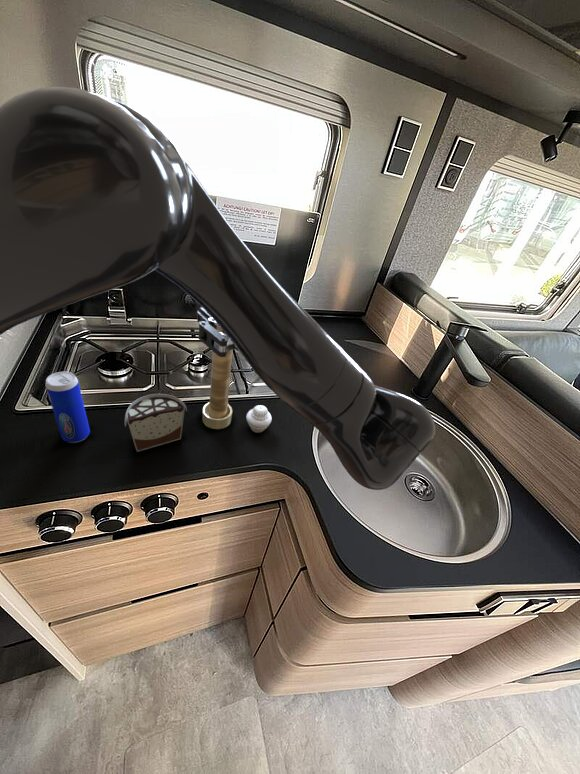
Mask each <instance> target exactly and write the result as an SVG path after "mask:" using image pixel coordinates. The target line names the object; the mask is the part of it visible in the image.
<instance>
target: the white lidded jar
mask: <svg viewBox="0 0 580 774" xmlns="http://www.w3.org/2000/svg"><path fill="white" fill-rule="evenodd" d="M245 417H246V422H247V424H248V426H249V428H250V430H251V431H252V432H254V433H258V434H259V433H262V432H264V431H265V430H266V429H267V428H268V427H269V426H270V424H271V423H272V420H273V419H272V418H273V417H272V415H271V413H270V412H269V411H268V408H267V406H265V405H262V404H260V405H259V404H257V405H255V406H254V407H253V408H251V409H249V410H248V412H247V413H246V416H245Z"/></svg>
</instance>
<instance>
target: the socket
mask: <svg viewBox="0 0 580 774" xmlns="http://www.w3.org/2000/svg"><path fill="white" fill-rule="evenodd" d="M209 406H210V401H209V402H207V403H205V404H204V405H203V407H202V409H201V411H202V413H201V414H202V415H201V417H202V418H201V419H202V423H203V425H204V426H205V427H206V428H209V429H213V430H221V429H225V428H227V427H228V426H230V425H231V422H232V419H233V408H232V406H231V405H230V404H229V403H228V406H227V416H226V417H225V418H222V419H215V418H211V417H209Z"/></svg>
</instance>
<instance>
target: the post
mask: <svg viewBox="0 0 580 774" xmlns="http://www.w3.org/2000/svg"><path fill="white" fill-rule="evenodd" d="M217 331H219V332H223V330H222V329H221V327H220V326H217ZM233 351H234V349H233V350H229V351H227V355H226V357H219V356H218V355H217V354H216V353H214V352H213V351H212V350H211V353H212V354H211V371H210V387H209V389H210V390H209V402H210V406H209V417H211V418H215V419H222V418H225V417H226V416H227V406H228V404H229V394H230V384H231V373H232V364H233V355H234V353H233Z"/></svg>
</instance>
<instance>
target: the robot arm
mask: <svg viewBox="0 0 580 774" xmlns="http://www.w3.org/2000/svg"><path fill="white" fill-rule="evenodd" d="M155 271H156V272H157V273H159V274H160V275H161V276H163V277H164V278H166V279H168V280H169V281H170V282H172V283H173V284H174V285H176V286H177V287H178V288H180V289H181V290H182V291H183V292H185V294H187V295H188V296H189V297H190V298H191V299H193V301H195V303H197V304H198V305H199V306H200V307H199V308H198V310H197V313H196V321H197V323H198V340H199V341H200V342H201V343H202V344H204V345H205V346H206V347H207V348H208V349H209V350H210V351H211V352H212V351H213V352H214V353H216V354H217V355H218V356H219V357H226V355H227V351H229V350H233V351H234V350H235V351H237V352H239V353H240V355H241V356H242V357H243V358H244V360H245V361H246V363H247V364H248V365H249V366H250V368H251V370H253V372H254V373H255V374H256V375H257V376H258V378H259V379H260V380H261V381H262V382H263V383H264V384H265V386H266V387H267V388H268V389H270V390H271V391H272V393H274V394H275V396H277V397H278V398H279V399H280V400H281V401H283V402H284V403H285V404H286V405H287V406H289V407H290V408H291V409H292V410H294V411H295V412H296V413H298V414H299V415H300V416H301V417H302V418H304V420H306V421H307V422H309V423H310V424H311V425H312V426H313V427H314V428H316V429H317V431H318V432H320V433H321V435H322V436H323V437H324V438H325V439H326V441H327V442H328V443H329V445H330V446H331V448H332V450H333V451H334V453H335V455H336V456H337V458H338V461H340V463H341V465H342V466H343V468H344V469H345V471H346V472H347V474H348V475H349V476H350V477H351V479H353V480H354V482H356V483H357V484H359V485H360V486H361V487H363V488H366V489H368V490H373V491H381V490H385V489H388V488H391V487H392V486H393V485H394V484H395V483H396V482H397V481H398V480H399V479H400V478H401V477H402V476H403V474H404V473H405V472H406V471H407V470H408V469H409V467H410V466H411V465H412V464H413V463H414V462H415V461H416V459H417V458H418V457H419V456H420V455H421V454H422V452H424V451H425V449H426V448H427V447H428V445H430V443H431V442H432V441H433V439H434V437H435V436H436V432H437V431H436V429H437V428H436V423H435V420H434V418H433V416H432V414H431V413H430V412H429V410H428V409H427V408H426V407H425V406H424V405H423V404H422V403H420V402H419V401H417V400H416V399H414V398H412V397H411V396H407V395H405V394H402V393H400V392H397V391H394V390H391V389H387V388H385V387H382V386H378V385H375V384H374V381H373V380H372V379H371V377H370V376H369V375H368V374H367V372H365V370H364V369H363V368H362V367H361V366H360V365H359V364H358V363H357V362H356V361H355V360H354V359H353V357H351V356H350V355H349V354H348V353H347V351H345V349H344V348H343V347H342V346H341V345H340V344H339V343H338V342H337V341H335V340H334V339H335V338H333V337H332V336H331V335H330V334H329V333H328V332H327V331H326V330H325V329H324V328H323V327H322V326H321V325H320V324H319V323H318V322H317V321H316V320H315V319H314V318H313V317H312V316H311V315H310V314H309V313H308V312H307V311H306V310H305V309H304V308H303V307H302V306H301V305H300V304H299V303H298V302H297V301H296V300H295V299H294V298H293V297H292V295H291V294H290V293H289V292H288V291H287V290H286V289H285V288H284V287H283V286H282V285H281V284H280V283H279V282H278V281H277V280H276V278H275V277H273V275H272V274H271V273H270V272H269V271H268V270H267V268H266V267H265V266H264V265H263V264H262V263H261V261H260V260H259V259H258V258H257V257H256V255H254V253H253V252H252V251H251V249H250V248H249V247H248V246H247V245H246V243H245V242H244V241H243V239H242V238H241V237H240V236H239V235H238V233H237V232H236V230H235V229H234V228H233V227H232V226H231V224H230V223H229V222H228V220H227V219H226V217H225V216H224V214H223V213H222V212H221V210H220V209H219V207H218V206H217V204H216V203H215V202H214V200H213V199H212V197H211V196H210V195H209V193H208V192H207V190H206V189H205V187H204V186H203V185H202V183H201V182H200V181H199V179H198V177H197V176H196V174H195V173H194V172H193V170H192V168H191V167H190V165H189V164H188V162H187V161H186V160H185V158H184V157H183V155H182V154H181V152H179V149H178V147H177V146H176V144H175V143H174V142H173V140H172V139H171V137H170V136H169V135H168V134H167V132H166V131H165V129H163V128H162V127H161V126H160V125H159V124H158V123H157V122H156V121H155V120H153V119H152V118H151V117H149V116H148V115H146V114H145V113H143V112H142V111H140V110H139V109H137V108H136V107H133V106H131V105H129V104H127V103H124V102H122V101H119V100H116V99H112V98H109V97H107V96H104V95H101V94H99V93H96V92H93V91H89V90H87V89H82V88H80V87H79V88H78V87H71V86H61V85H50V86H49V85H48V86H45V87H44V86H43V87H38V88H33V89H29V90H25V91H22V92H21V93H17V95H14V96H13V97H11V98H9V99H8V100H6V101H4V102H3V103H1V104H0V336H1V335H3V334H4V333H6V332H8V331H9V330H11V329H13V328H16V327H17V326H19V325H21V324H24V323H25V322H28V321H30V320H33V319H36V318H38V317H40V316H41V317H42V316H43V315H45V314H48V313H51V312H53V311H56V310H59V309H62V308H64V307H67V306H69V305H72V304H75V303H78V302H80V301H83V300H85V299H86V300H87V299H89V298H91V297H94V296H97V295H100V294H103V293H106V292H107V293H108V292H109V291H112V290H115V289H117V288H121V287H123V286H126V285H128V284H131V283H135V282H137V281H139V280H141V279H143V278H145V277H146V276H148V275H149V274H150V273H152V272H155ZM217 326H220V327H221V329H222V330H223V332H219V331H217Z"/></svg>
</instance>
